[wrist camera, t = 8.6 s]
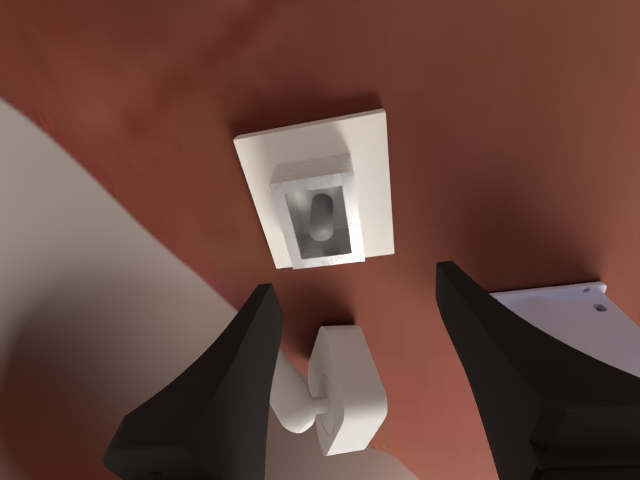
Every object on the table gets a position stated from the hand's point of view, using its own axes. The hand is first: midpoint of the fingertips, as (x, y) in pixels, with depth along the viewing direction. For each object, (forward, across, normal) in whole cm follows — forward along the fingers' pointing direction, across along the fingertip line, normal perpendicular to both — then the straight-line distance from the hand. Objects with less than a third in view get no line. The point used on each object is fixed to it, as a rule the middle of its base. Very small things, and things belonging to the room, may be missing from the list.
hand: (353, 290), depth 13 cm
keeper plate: (+9, +2, 0) cm, 9 cm away
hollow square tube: (+8, +2, 0) cm, 8 cm away
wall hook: (+10, +6, +15) cm, 19 cm away
